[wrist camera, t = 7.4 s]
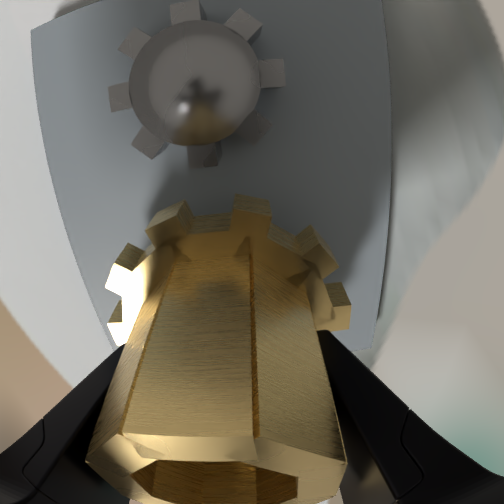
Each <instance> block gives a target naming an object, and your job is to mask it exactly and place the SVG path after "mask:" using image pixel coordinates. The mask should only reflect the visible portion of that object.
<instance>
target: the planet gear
mask: <svg viewBox="0 0 504 504" xmlns="http://www.w3.org/2000/svg"><path fill="white" fill-rule="evenodd" d="M271 220H272V213H271V208H270V203H269V200H266V199H261V198H257V197H252V196H247V195H242V194H237V193H235V197H234V201H233V206H232V211H231V212H229V213H219V214H210V215H201V216H194V215H193V213H192V211H191V209H190V207H189V205H188V204H187V202H186V200H185V199H184V200H182V201H180V202H178V203H176V204H173V205H171V206H169V207H167V208H165V209H163V210H161V211H159V212H157V213H156V214H155V216H154V217H153V219H152V220H151V222H150V223H149V225H148V226H147V228H146V229H145V232H146V234H147V235H148V237H149V239H150V240H151V242H152V243H151V244H150V245H149V246H148V247H147V248H146V249H145V250H142V249H140V248H138V247H136V246H134V245H132V244H130V243H127V245H126V246H125V248H124V249H123V250H122V252H121V253H120V255H119V256H118V258H117V259H116V261H115V262H114V264H113V267H112V270H111V273H110V275H109V278H108V281H107V284H106V288H108V289H109V290H111V291H113V292H115V293H117V294H119V295H121V296H122V300H119V302H118V303H117V305H116V307H115V309H114V311H113V313H112V315H111V317H110V319H109V321H108V323H107V324H108V326H109V328H110V331H111V333H112V335H113V337H114V339H115V342H116V344H117V345H122V344H123V343H126V344H125V347H124V349H123V352H122V354H121V357H120V359H119V362H118V365H117V367H116V370H115V373H114V375H113V378H112V381H111V384H110V386H109V389H108V392H107V395H106V397H105V400H104V403H103V406H102V409H101V412H100V415H99V418H98V421H97V424H96V427H95V430H94V433H93V436H92V439H91V442H90V445H89V449H88V452H87V455H86V458H85V461H86V463H87V464H88V465H89V466H90V467H91V468H92V469H93V470H94V471H95V472H97V473H98V474H99V475H100V476H101V477H102V478H103V479H104V480H105V481H107V482H108V483H109V484H110V485H111V486H112V487H113V488H115V489H116V490H117V491H118V492H119V493H121V494H122V495H123V496H127V498H130V499H133V500H135V501H138V502H141V503H144V504H317V503H319V502H322V501H325V500H327V499H330V498H332V497H333V496H335V495H336V493H337V491H338V488H339V486H340V483H341V481H342V478H343V475H344V473H345V470H346V467H347V464H348V463H347V458H346V453H345V449H344V444H343V440H342V435H341V431H340V426H339V422H338V417H337V413H336V409H335V404H334V400H333V396H332V391H331V387H330V383H329V379H328V375H327V371H326V367H325V363H324V359H323V355H322V351H321V347H320V343H319V339H318V335H317V330H329V331H330V332H332V331H340V330H347V329H349V325H350V316H351V306H352V305H351V302H350V300H349V298H348V296H347V293H346V291H345V289H344V287H343V284H342V282H334V283H325V284H324V282H323V279H324V278H325V277H327V276H328V275H329V274H331V273H332V272H333V271H335V270H336V269H337V268H339V265H338V263H337V261H336V259H335V257H334V255H333V253H332V251H331V249H330V247H329V245H328V244H327V243H326V242H325V240H324V239H323V238H322V237H321V236H320V234H319V233H318V232H317V231H316V230H315V229H314V227H313V226H312V225H311V224H310V225H309V226H307V227H306V228H305V229H303V230H302V231H301V232H300V233H298V234H297V235H296V236H295V235H293V234H291V233H289V232H287V231H286V230H284V229H282V228H280V227H278V226H277V225H275V224H273V223H271Z"/></svg>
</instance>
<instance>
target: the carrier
mask: <svg viewBox="0 0 504 504" xmlns="http://www.w3.org/2000/svg"><path fill="white" fill-rule="evenodd" d="M31 48H32V63H33V74H34V83H35V92H36V100H37V107H38V113H39V120H40V126H41V131H42V137H43V142H44V147H45V152H46V157H47V161H48V166H49V170H50V174H51V178H52V183H53V186H54V190H55V194H56V198H57V202H58V205H59V209H60V212H61V216H62V219H63V222H64V226H65V229H66V232H67V235H68V238H69V241H70V245H71V248H72V250H73V253H74V256H75V259H76V262H77V265H78V268H79V270H80V273H81V276H82V278H83V281H84V284H85V286H86V289H87V291H88V294H89V296H90V299H91V301H92V304H93V306H94V308H95V311H96V313H97V316H98V318H99V320H100V322H101V325H102V327H103V329H104V331H105V334H106V336H107V338H108V340H109V342H110V344H111V346H112V349H113V351H115V350H116V349H117V348H119V347H120V346H121V345H117V344H116V342H115V339H114V337H113V335H112V333H111V331H110V328H109V326H108V324H107V323H108V321H109V319H110V317H111V315H112V313H113V311H114V309H115V307H116V305H117V303H118V302H119V300H122V296H121V295H119V294H117V293H115V292H113V291H111V290H109V289H108V288H106V284H107V281H108V278H109V275H110V273H111V270H112V267H113V264H114V262H115V261H116V259H117V258H118V256H119V255H120V253H121V252H122V250H123V249H124V248H125V246H126V245H127V243H130V244H132V245H134V246H136V247H138V248H140V249H142V250H145V249H146V248H147V247H148V246H149V245H150V244H151V243H152V242H151V240H150V239H149V237H148V235H147V234H146V232H145V229H146V228H147V226H148V225H149V223H150V222H151V220H152V219H153V217H154V216H155V214H156V213H157V212H159V211H161V210H163V209H165V208H167V207H169V206H171V205H173V204H176V203H178V202H180V201H182V200H184V199H185V200H186V202H187V204H188V205H189V207H190V209H191V211H192V213H193V215H194V216H201V215H210V214H219V213H229V212H231V211H232V206H233V201H234V197H235V193H237V194H242V195H247V196H252V197H257V198H261V199H266V200H269V203H270V208H271V213H272V220H271V223H273V224H275V225H277V226H278V227H280V228H282V229H284V230H286V231H287V232H289V233H291V234H293V235H295V236H296V235H297V234H298V233H300V232H301V231H302V230H303V229H305V228H306V227H307V226H309V225H310V224H311V225H312V226H313V227H314V229H315V230H316V231H317V232H318V233H319V234H320V236H321V237H322V238H323V239H324V240H325V242H326V243H327V244H328V245H329V247H330V249H331V251H332V253H333V255H334V257H335V259H336V261H337V263H338V265H339V268H337V269H336V270H335V271H333V272H332V273H331V274H329V275H328V276H327V277H325V278H324V279H323V282H324V284H325V283H334V282H342V284H343V287H344V289H345V291H346V293H347V296H348V298H349V300H350V302H351V305H352V306H351V316H350V325H349V329H347V330H340V331H332V332H331V333H332V334H333V335H334V336H335V337H336V338H337V339H338V340H339V341H340V342H341V343H342V344H343V345H344V346H345V347H346V348H348V349H349V350H350V351H357V350H363V349H369V348H371V347H372V342H373V337H374V331H375V326H376V320H377V314H378V307H379V301H380V294H381V287H382V280H383V272H384V264H385V255H386V245H387V234H388V223H389V209H390V191H391V164H392V114H391V88H390V72H389V59H388V48H387V38H386V29H385V21H384V14H383V7H382V0H101V1H98V2H95V3H92V4H90V5H87V6H84V7H82V8H79V9H77V10H74V11H72V12H69V13H67V14H65V15H62V16H60V17H58V18H56V19H53V20H51V21H49V22H47V23H45V24H43V25H41V26H39V27H37V28H35V29H33V30H31Z"/></svg>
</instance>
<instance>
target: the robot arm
mask: <svg viewBox="0 0 504 504" xmlns="http://www.w3.org/2000/svg"><path fill="white" fill-rule="evenodd" d="M317 335H318V339H319V343H320V347H321V351H322V355H323V359H324V363H325V367H326V371H327V375H328V379H329V383H330V387H331V391H332V396H333V400H334V404H335V409H336V413H337V417H338V422H339V426H340V431H341V435H342V440H343V444H344V449H345V453H346V458H347V463H348V464H347V467H346V470H345V473H344V475H343V478H342V481H341V483H340V486H339V488H340V491H341V495H342V499H343V503H344V504H504V477H503V476H500V475H497V474H495V473H492V472H490V471H489V470H487V469H486V468H484V467H482V466H481V465H480V464H478V463H477V462H475V461H474V460H473V459H471V458H470V457H469V456H467V455H466V454H464V453H463V452H462V451H460V450H459V449H457V448H456V447H455V446H453V445H452V444H451V443H449V442H448V441H447V440H445V439H444V438H443V437H442V436H440V435H439V434H438V433H436V432H435V431H434V430H433V429H432V428H431V427H429V426H428V425H427V424H426V423H425V422H424V421H423V420H422V419H421V418H419V417H418V416H417V415H416V414H415V413H414V412H413V411H412V410H409V407H408V406H407V405H406V404H405V403H404V402H403V401H402V400H401V399H400V398H399V397H397V396H396V395H395V394H394V393H393V392H392V391H391V390H390V389H389V388H388V387H387V386H386V385H385V384H384V383H383V382H382V381H381V380H380V379H379V378H378V377H377V376H376V375H374V373H372V372H371V371H370V370H369V369H368V368H367V367H366V366H365V365H364V364H363V363H362V362H361V361H360V360H359V359H358V358H357V357H356V356H355V355H354V354H353V353H352V352H351V351H350V350H349V349H348V348H346V347H345V346H344V345H343V344H342V343H341V342H340V341H339V340H338V339H337V338H336V337H335V336H334V335H333V334H332V333H331V332H330V331H329V330H317ZM125 344H126V343H123V344H122V345H121V346H120V347H119V348H117V349H116V350H115V351H114V352H113V353H112V354H111V355H110V356H109V357H108V358H106V359H105V360H104V361H103V362H102V363H101V364H100V365H99V366H98V367H97V368H96V369H94V370H93V371H92V372H91V373H90V374H89V375H88V376H87V377H86V378H85V379H84V380H82V381H81V382H80V383H79V384H78V385H77V386H76V387H75V388H74V389H73V390H72V391H71V392H70V393H69V394H67V396H65V397H64V398H63V399H62V400H61V401H60V402H59V403H58V404H57V405H56V406H55V407H53V408H52V409H51V410H50V411H49V412H48V413H47V414H46V415H45V416H44V417H43V419H41V420H39V421H38V422H37V423H36V424H35V425H34V426H33V427H32V428H31V429H30V430H29V431H28V432H26V433H25V434H24V435H23V436H22V437H21V438H20V439H18V440H17V441H16V442H15V443H13V444H12V445H11V446H10V447H8V448H7V449H6V450H5V451H3V452H2V453H1V454H0V504H129V501H130V498H127V496H123V495H122V494H121V493H119V492H118V491H117V490H116V489H115V488H113V487H112V486H111V485H110V484H109V483H108V482H107V481H105V480H104V479H103V478H102V477H101V476H100V475H99V474H98V473H97V472H95V471H94V470H93V469H92V468H91V467H90V466H89V465H88V464H87V463H86V461H85V458H86V455H87V452H88V449H89V445H90V442H91V439H92V436H93V433H94V430H95V427H96V424H97V421H98V418H99V415H100V412H101V409H102V406H103V403H104V400H105V397H106V395H107V392H108V389H109V386H110V384H111V381H112V378H113V375H114V373H115V370H116V367H117V365H118V362H119V359H120V357H121V354H122V352H123V349H124V347H125ZM408 410H409V411H408Z"/></svg>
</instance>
